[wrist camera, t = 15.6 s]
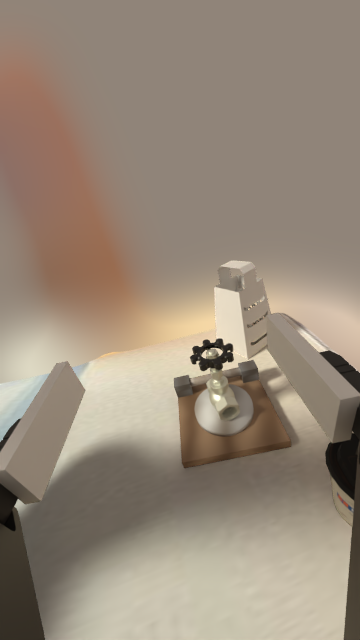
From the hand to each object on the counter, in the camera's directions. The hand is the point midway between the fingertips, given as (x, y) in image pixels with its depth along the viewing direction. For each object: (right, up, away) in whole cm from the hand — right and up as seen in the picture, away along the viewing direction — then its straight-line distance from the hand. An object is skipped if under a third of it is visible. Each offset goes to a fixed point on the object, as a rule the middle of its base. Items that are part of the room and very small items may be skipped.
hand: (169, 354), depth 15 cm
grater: (+17, -3, +42) cm, 46 cm away
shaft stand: (+9, -15, +25) cm, 30 cm away
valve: (+8, -13, +24) cm, 28 cm away
